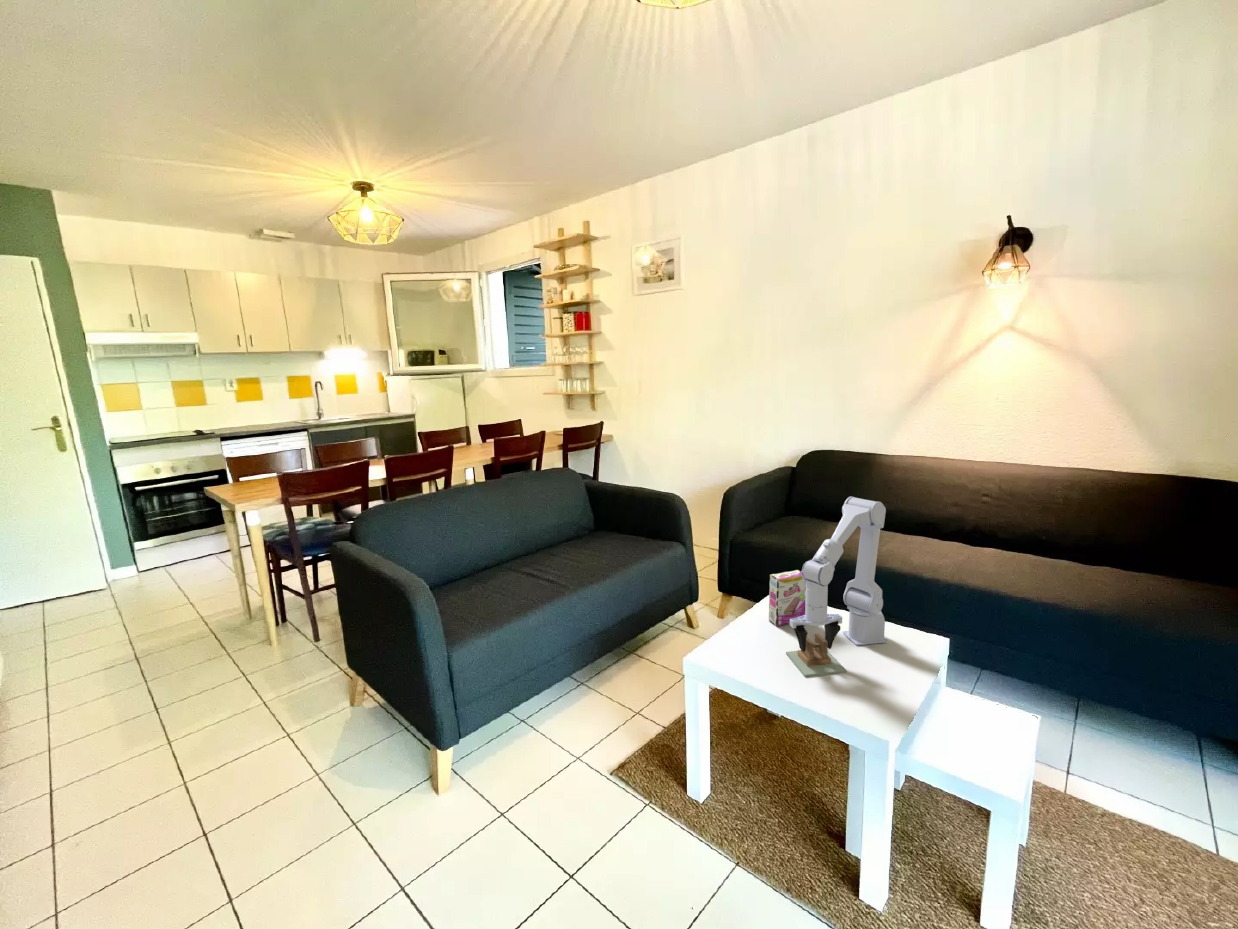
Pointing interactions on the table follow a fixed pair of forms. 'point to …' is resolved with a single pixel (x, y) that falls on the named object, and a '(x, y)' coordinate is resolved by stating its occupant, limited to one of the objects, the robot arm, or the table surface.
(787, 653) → the mat
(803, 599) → the candy bar box
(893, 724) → the table surface
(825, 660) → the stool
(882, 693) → the table surface
